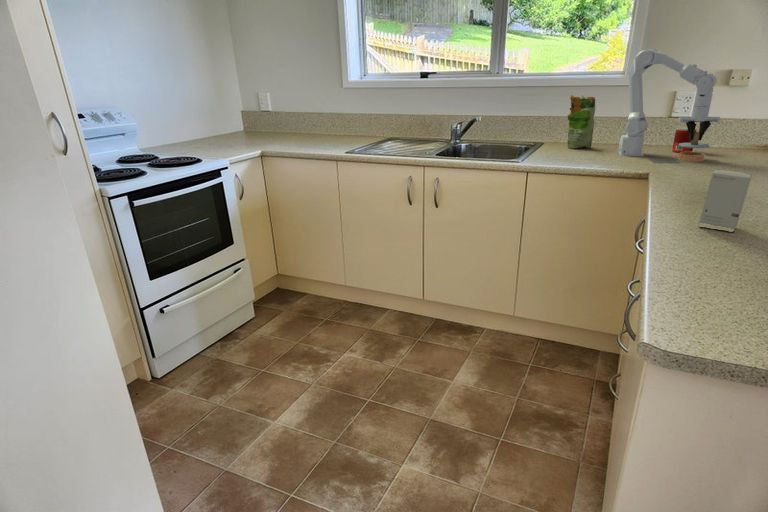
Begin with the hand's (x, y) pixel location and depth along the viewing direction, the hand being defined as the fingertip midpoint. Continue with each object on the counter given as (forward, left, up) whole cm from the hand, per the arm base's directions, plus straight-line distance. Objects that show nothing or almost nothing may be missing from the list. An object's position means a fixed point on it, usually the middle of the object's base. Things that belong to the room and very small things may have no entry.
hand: (694, 140), depth 201 cm
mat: (-11, -2, -9) cm, 14 cm away
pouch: (-41, +30, -9) cm, 52 cm away
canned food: (+2, +18, -9) cm, 20 cm away
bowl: (0, 0, -9) cm, 9 cm away
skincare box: (-21, -89, -9) cm, 92 cm away
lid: (0, 0, -2) cm, 2 cm away
